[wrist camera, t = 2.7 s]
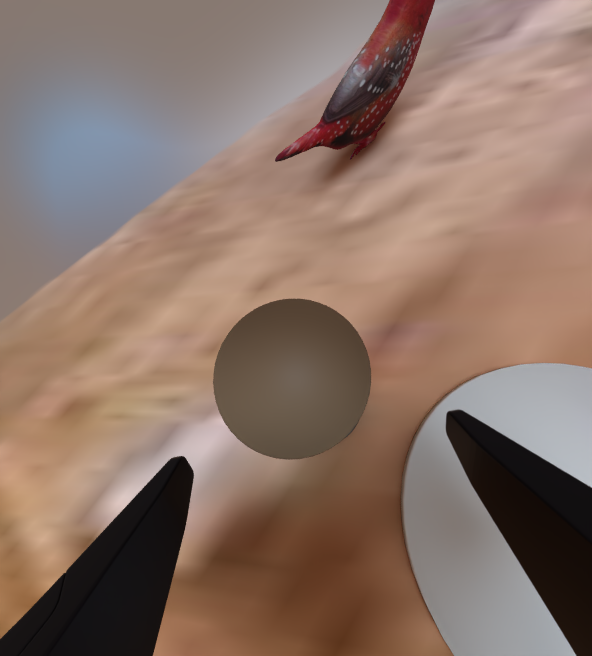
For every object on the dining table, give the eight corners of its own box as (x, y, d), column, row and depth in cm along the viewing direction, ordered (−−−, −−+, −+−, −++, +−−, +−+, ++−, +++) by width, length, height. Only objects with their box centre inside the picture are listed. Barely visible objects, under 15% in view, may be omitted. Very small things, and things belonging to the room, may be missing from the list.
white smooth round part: (855, 887, 10) (909, 937, 9) (374, 659, 14) (377, 677, 13) (762, 410, 15) (791, 410, 14) (423, 338, 18) (428, 334, 18)
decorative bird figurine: (423, 105, 25) (476, -78, 16) (302, 232, 23) (278, 103, 13) (397, 95, 26) (433, -84, 17) (277, 216, 24) (240, 84, 14)
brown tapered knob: (351, 455, 17) (395, 566, 5) (269, 429, 18) (133, 462, 6) (368, 370, 18) (436, 284, 6) (292, 351, 20) (221, 248, 7)
